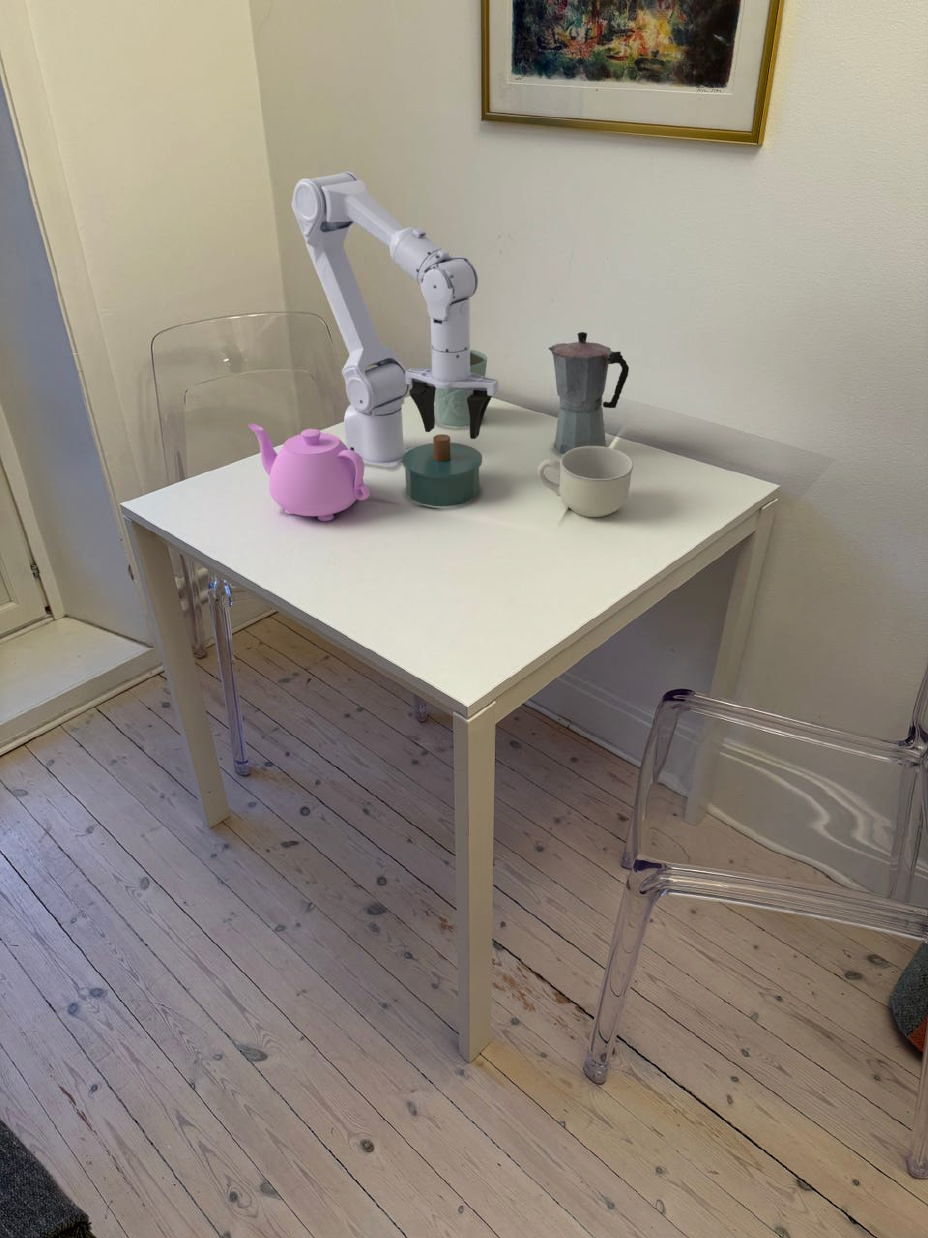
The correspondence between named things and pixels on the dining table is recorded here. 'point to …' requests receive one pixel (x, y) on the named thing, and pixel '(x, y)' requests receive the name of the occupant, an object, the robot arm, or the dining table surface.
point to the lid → (442, 459)
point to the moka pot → (583, 391)
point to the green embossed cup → (458, 396)
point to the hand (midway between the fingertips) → (452, 433)
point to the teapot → (312, 473)
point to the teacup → (591, 479)
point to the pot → (442, 489)
